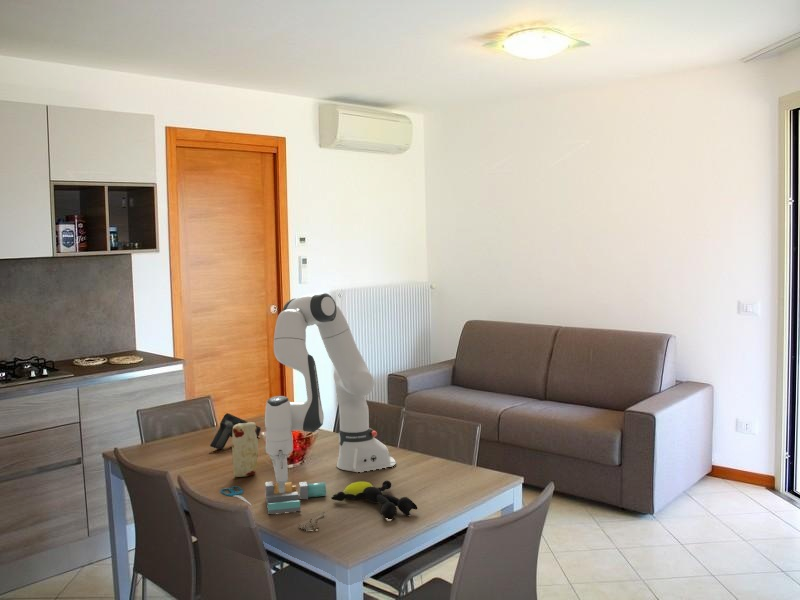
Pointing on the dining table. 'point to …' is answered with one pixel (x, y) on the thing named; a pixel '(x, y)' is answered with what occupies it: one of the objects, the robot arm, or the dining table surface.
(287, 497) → the rack
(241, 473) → the food model
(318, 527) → the leaf
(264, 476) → the dining table surface
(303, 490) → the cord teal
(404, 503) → the toy
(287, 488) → the tan and gray block
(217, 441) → the handgun
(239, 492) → the scissors
